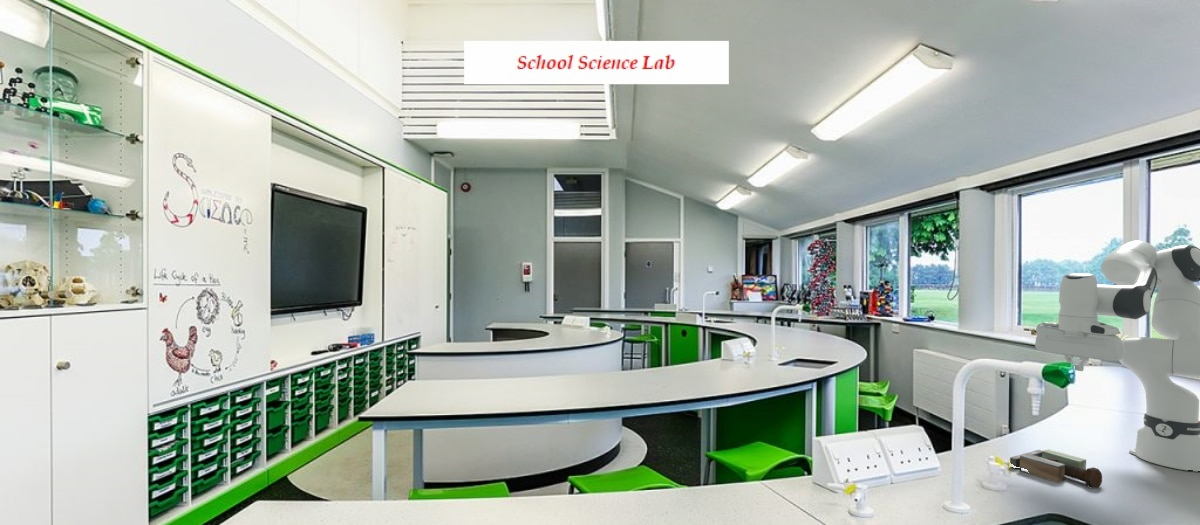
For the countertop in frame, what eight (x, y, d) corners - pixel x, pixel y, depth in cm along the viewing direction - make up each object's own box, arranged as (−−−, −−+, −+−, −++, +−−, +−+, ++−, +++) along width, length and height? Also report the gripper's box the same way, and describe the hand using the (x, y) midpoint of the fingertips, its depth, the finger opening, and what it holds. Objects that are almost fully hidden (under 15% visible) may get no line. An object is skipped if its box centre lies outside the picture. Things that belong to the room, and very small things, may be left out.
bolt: (1036, 473, 155) (1098, 492, 141) (1026, 466, 153) (1089, 485, 139) (1042, 455, 156) (1104, 473, 142) (1032, 448, 155) (1095, 465, 141)
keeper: (1038, 459, 161) (1039, 444, 161) (1085, 473, 151) (1086, 457, 151) (1009, 467, 154) (1010, 452, 154) (1057, 482, 143) (1057, 466, 143)
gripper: (1031, 321, 166) (1030, 364, 166) (1116, 330, 147) (1115, 377, 147) (1041, 321, 169) (1040, 363, 169) (1126, 329, 150) (1125, 376, 150)
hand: (1076, 370), depth 158 cm, fingers closed
